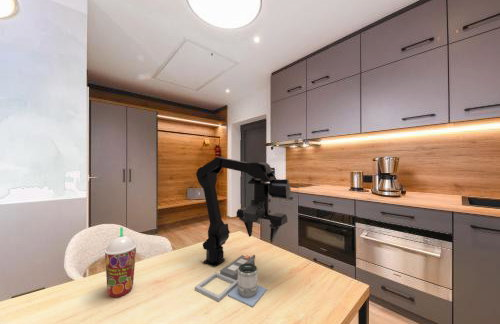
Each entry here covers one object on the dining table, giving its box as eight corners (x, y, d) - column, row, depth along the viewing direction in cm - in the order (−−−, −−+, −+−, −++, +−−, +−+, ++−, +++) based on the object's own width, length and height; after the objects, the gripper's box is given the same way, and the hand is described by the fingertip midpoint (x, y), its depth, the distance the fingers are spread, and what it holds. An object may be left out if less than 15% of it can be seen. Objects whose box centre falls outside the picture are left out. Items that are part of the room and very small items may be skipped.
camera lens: (258, 297, 59) (259, 271, 59) (237, 299, 58) (238, 272, 58) (256, 284, 65) (256, 261, 65) (237, 285, 64) (237, 261, 64)
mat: (227, 295, 60) (227, 294, 60) (243, 280, 68) (243, 279, 68) (252, 307, 55) (252, 306, 55) (267, 290, 63) (267, 288, 63)
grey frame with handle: (194, 289, 62) (194, 281, 62) (244, 254, 87) (244, 248, 87) (218, 301, 57) (218, 292, 57) (264, 260, 82) (264, 254, 82)
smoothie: (101, 304, 56) (102, 233, 56) (106, 287, 63) (107, 225, 63) (135, 295, 60) (136, 229, 60) (136, 280, 67) (137, 222, 67)
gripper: (227, 196, 70) (226, 240, 70) (273, 203, 60) (273, 254, 60) (245, 193, 80) (244, 231, 79) (288, 198, 69) (287, 242, 69)
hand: (260, 239), depth 72 cm, fingers open, 9 cm apart
